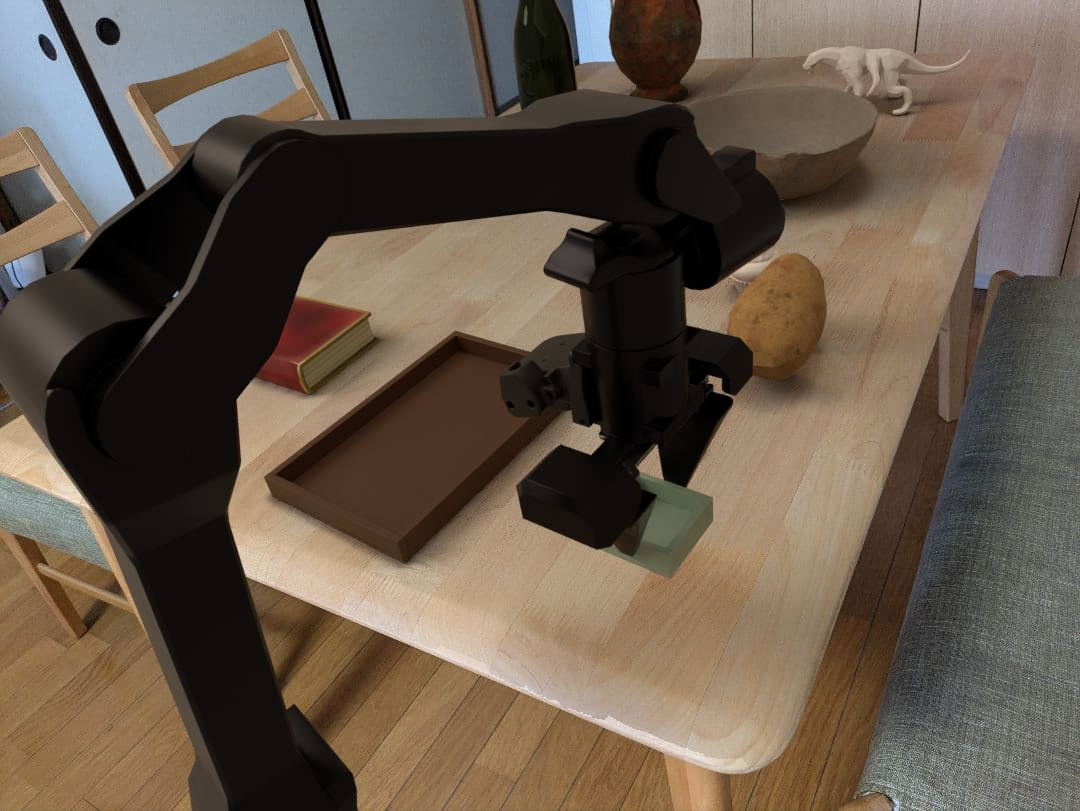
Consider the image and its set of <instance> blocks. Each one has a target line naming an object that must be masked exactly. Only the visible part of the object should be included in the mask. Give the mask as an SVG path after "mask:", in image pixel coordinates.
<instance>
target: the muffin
mask: <svg viewBox="0 0 1080 811" xmlns="http://www.w3.org/2000/svg"><path fill="white" fill-rule="evenodd" d="M780 256H781V255H780V253H779V252H778V251H776V250H775V249H774V248H773V247H771V248H770V249H768V250H767V251H765V252H764V253H762V254H761V255H759V256H758V257H756V258H755V259H753V260H752V261H750V262H749V263H747V264H746V265H744V266H743V267H741V268H740V269H739V270H737V271H736V272H734V273H733V274H731V275H730V276H729V278H730V280H731V281H732V283H733V284H734V286H735V287H736V289H737V291H738V292H739V294H741V293H742V292H743V291H744V290H745V289H746V288H747V287H748V286H749V285H750V284H751V283H752V282H753V281H754V280H755V279H756V278H757V277H758V276H759V275H760V274H761V272H762V271H763V270H764V269H765V268H766V267H767V266H768V265H769V264H770V263H771V262H772V261H773V260H774V259H776V258H778V257H780Z"/></svg>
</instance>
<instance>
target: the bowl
mask: <svg viewBox="0 0 1080 811" xmlns="http://www.w3.org/2000/svg"><path fill="white" fill-rule="evenodd" d="M685 106H686V107H688V108H689V109H690V110H691V111H692V112H693V114H694V117H695V119H694V124H695V126H696V129H697V136H698V137H699V139H700V140H701V141H702V143H703V144H704V146H705V147H706V149H707V150H708V152H709V153H710V155H712V154H713V153H714V152H716V151H717V150H719V149H721V148H723V147H724V146H726V145H731V146H736V147H741V148H746V149H751V150H755V152H756V169H757V170H758V171H760V172H761V173H762V174H763V175H764V176H765V177H767V178H768V180H769V181H770V182H771V184H772V185H773V186H774V187H775V189H776V191H777V193H778V195H779V197H780V200H781V201H783V200H785V201H786V200H791V199H797V198H801V197H805V196H809V195H813V194H815V193H818V192H820V191H822V190H824V189H826V188H828V187H830V186H832V185H833V184H834V183H836V182H837V181H838V180H839V179H840V178H842V177H843V176H844V175H845V174H846V173H847V172H848V171H849V170H850V169H851V167H853V165H854V164H855V162H856V161H857V159H858V158H859V156H860V155H861V154H862V152H863V151H864V149H865V148H866V147H867V145H868V143H869V141H870V139H871V138H872V136H873V134H874V131H875V128H876V125H877V122H878V118H879V116H878V109H877V107H876V106H875V104H874V103H873V102H871V101H870V100H868V99H866V98H864V97H862V96H861V97H860V96H857V95H855V94H854V93H852V92H850V93H849V92H846V91H842V89H839V88H833V87H822V86H811V85H776V86H775V85H774V86H759V87H752V88H744V89H738V90H732V91H727V92H723V93H718V94H713V95H710V96H706V97H703V98H699V99H697V100H694V101H692V102H690V103H687V104H686V105H685Z"/></svg>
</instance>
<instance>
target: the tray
mask: <svg viewBox="0 0 1080 811" xmlns="http://www.w3.org/2000/svg"><path fill="white" fill-rule="evenodd" d="M530 352H531V351H529V350H525V349H521V348H518V347H514V346H511V345H508V344H505V343H501V342H497V341H494V340H489V339H486V338H484V337H479V336H476V335H473V334H469V333H465V332H462V331H458V330H454V331H452V332H451V333H450V334H449V335H447V336H446V337H444V338H443V339H442V340H441V341H439V342H438V343H437V344H435V345H434V346H433V347H432V348H430V349H429V350H428V351H426V352H425V353H423V355H421V356H420V357H419V358H417V359H416V360H414V361H413V362H412V363H411V364H409V365H408V366H407V367H406V368H404V369H403V370H402V371H400V372H399V373H398V374H396V375H394V376H393V377H392V378H391V379H390V380H388V381H387V382H386V383H384V384H383V385H381V386H380V387H378V388H377V390H375V391H374V392H373V393H371V394H370V395H368V396H367V397H366V398H364V400H362V401H361V402H359V404H357V405H355V406H354V407H353V408H351V409H350V410H349V411H347V412H346V413H345V414H343V416H341V417H340V418H338V420H336V421H334V422H333V423H332V424H330V425H329V426H328V427H327V428H326V429H324V430H323V431H321V432H320V433H319V434H318V435H316V436H315V437H314V438H312V439H311V440H310V441H308V442H307V443H306V444H305V445H303V446H302V447H300V448H299V449H298V450H297V451H296V452H294V453H293V454H291V455H290V456H289V457H288V458H286V459H285V460H284V461H282V462H281V463H280V464H278V465H277V466H276V467H274V468H273V469H272V470H271V471H270V472H268V473H266V474H265V475H264V476H263V479H264V481H265V484H266V485H267V488H268V490H269V492H270V494H271V497H273V498H274V499H277V500H279V501H280V502H282V503H284V504H286V505H288V506H291V507H292V508H295V509H297V510H298V511H300V512H302V513H304V514H306V515H308V516H310V517H312V518H314V519H316V520H317V521H320V522H321V523H324V524H325V525H328V526H329V527H331V528H333V529H336V530H337V531H339V532H342V533H343V534H345V535H347V536H349V537H351V538H353V539H355V540H356V541H358V542H361V543H362V544H365V545H366V546H369V547H371V548H372V549H375V550H377V551H378V552H380V553H383V554H384V555H387V556H389V557H390V558H392V559H395V560H396V561H399V562H400V563H402V564H406V563H407V562H408V561H409V560H410V559H411V558H412V557H413V556H414V555H416V553H417V552H418V551H420V550H421V549H422V547H424V546H425V545H426V544H427V543H428V542H429V541H430V540H431V539H432V538H433V537H434V536H435V535H436V534H437V533H438V532H439V531H440V530H441V529H442V528H443V527H445V525H446V524H447V523H448V522H450V520H451V519H452V518H453V517H455V516H456V514H457V513H458V512H460V511H461V510H462V509H463V508H464V507H465V506H466V505H467V504H468V503H469V502H470V501H471V500H472V499H473V498H474V497H475V496H476V495H478V493H479V492H480V491H481V490H482V489H484V487H485V486H487V485H488V483H490V481H492V480H493V479H494V478H495V476H498V474H499V473H500V472H501V471H502V470H503V468H505V467H506V466H507V465H508V464H509V463H510V462H511V461H513V459H515V457H516V456H518V454H519V453H520V452H522V451H523V450H524V449H525V448H526V447H527V446H528V445H529V444H530V443H531V442H532V441H533V440H534V439H535V438H536V437H537V436H538V435H539V434H540V433H541V432H542V431H543V430H545V429H546V427H547V426H548V425H550V424H551V423H552V421H554V420H555V419H556V417H558V416H559V415H560V414H561V413H563V411H546V412H545V413H543V414H542V415H541V416H540V417H534V418H517V417H514V416H513V415H512V414H510V413H509V411H508V409H507V407H506V405H505V403H504V401H503V399H502V397H501V391H500V380H499V374H501V373H502V372H503V371H504V370H505V369H506V368H508V367H509V366H510V365H511V364H512V363H513V362H515V361H521V360H522V359H523V358H524V357H525V356H526V355H528V354H529V353H530Z"/></svg>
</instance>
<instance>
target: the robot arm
mask: <svg viewBox="0 0 1080 811" xmlns="http://www.w3.org/2000/svg"><path fill="white" fill-rule="evenodd" d="M694 119H695V117H694V114H693V112H692V111H691V110H690V109H689V108H688V107H686V105H682V104H679V103H676V102H672V103H670V102H664V101H658V100H652V99H646V98H640V97H634V96H629V95H627V94H622V93H621V94H620V93H615V92H609V91H602V90H596V89H590V88H583V89H581V88H580V89H578V90H575V91H571V92H567V93H563V94H559V95H555V96H551V97H547V98H543V99H539V100H536V101H535V102H533V103H532V104H530V105H529V106H528V107H526V108H525V109H524V110H522V111H521V110H520V111H518V112H513V113H510V114H506V115H502V116H477V117H475V116H473V117H472V116H471V117H470V116H469V117H424V118H422V117H421V118H417V117H416V118H415V117H414V118H372V119H368V118H367V119H365V118H364V119H325V120H324V119H318V120H316V119H314V120H313V119H312V120H270V119H266V118H264V117H260V116H257V115H252V114H238V115H233V116H229V117H224V118H223V119H221V120H219V121H218V122H216V123H215V124H213V125H212V126H210V127H208V128H207V130H206V131H205V132H203V133H202V134H201V135H200V137H198V139H197V140H196V141H195V142H194V143H193V144H192V145H191V147H190V148H189V149H188V150H187V152H186V153H185V154H184V155H183V156H182V158H181V159H180V160H179V161H178V163H177V164H176V165H175V166H174V167H173V169H172V170H171V171H170V172H169V173H167V174H166V175H165V176H163V177H162V178H160V180H158V181H156V183H154V184H152V186H151V185H150V187H149V188H147V189H146V190H145V191H144V192H142V193H141V194H139V195H138V196H137V197H136V198H134V199H133V200H132V201H130V202H129V203H127V205H125V206H124V207H122V208H121V209H120V210H119V211H117V212H116V213H115V214H113V215H112V216H110V217H109V218H108V219H107V220H105V221H104V222H102V224H101V225H99V227H97V229H96V230H95V231H94V232H93V233H92V234H91V235H90V237H89V238H88V239H87V240H86V241H85V243H84V244H83V245H82V246H81V247H80V248H79V249H78V251H76V253H75V254H74V255H73V257H71V259H70V260H69V261H68V263H67V264H66V265H65V266H64V267H63V268H62V269H61V270H58V271H54V272H52V273H50V274H47V275H45V276H43V277H41V278H38V279H35V280H33V281H31V282H29V283H28V284H27V285H26V286H24V287H23V289H21V290H20V291H19V292H18V293H17V294H15V295H14V296H13V297H12V298H11V299H9V301H8V302H7V303H6V305H5V306H4V308H3V310H2V312H1V313H0V385H1V386H2V387H3V389H4V391H5V392H6V393H7V394H8V396H9V397H10V399H11V400H12V401H13V403H14V404H15V406H16V407H17V408H18V410H19V412H20V413H21V414H22V415H23V417H24V418H25V419H26V421H27V422H28V424H29V425H30V427H31V428H32V429H33V430H34V432H35V434H36V435H37V436H38V438H39V439H40V440H41V443H43V445H44V446H45V447H46V449H47V450H48V451H49V453H50V454H51V456H52V457H53V458H54V460H55V461H56V463H57V464H58V465H59V466H60V468H61V469H62V471H63V472H64V473H65V475H66V476H67V478H68V479H69V480H70V482H71V483H72V485H73V486H74V487H75V489H76V490H77V492H78V493H79V494H80V495H81V497H82V498H83V500H84V501H85V502H86V504H87V505H88V506H89V508H90V509H91V511H92V512H93V514H94V515H95V516H96V518H97V519H98V520H99V523H101V525H102V528H103V529H104V530H103V531H104V532H105V535H106V536H107V539H108V542H109V544H110V547H111V549H112V552H113V554H114V556H115V559H116V562H117V564H118V567H119V569H120V572H121V574H122V576H123V578H124V581H125V584H126V586H127V589H128V591H129V593H130V596H131V598H132V601H133V603H134V606H135V608H136V610H137V613H138V616H139V618H140V620H141V623H142V625H143V627H144V630H145V633H146V635H147V638H148V640H149V642H150V645H151V647H152V650H153V651H154V652H153V653H154V654H155V658H156V659H157V662H158V664H159V666H160V669H161V672H162V674H163V677H164V680H165V681H166V684H167V687H168V689H169V691H170V694H171V697H172V699H173V702H174V703H175V706H176V708H177V711H178V714H179V716H180V718H181V720H182V723H183V726H184V728H185V730H186V733H187V735H188V738H189V741H190V743H191V745H192V747H193V751H194V762H193V765H192V767H191V770H190V772H189V775H188V778H187V784H188V791H189V793H188V794H189V798H190V799H189V800H190V807H191V808H190V809H191V811H360V810H359V809H358V808H359V807H358V787H357V784H356V782H355V777H354V773H353V772H352V771H351V770H350V769H349V767H348V766H347V764H345V763H344V760H342V759H341V757H340V756H339V755H338V754H337V752H336V751H335V750H334V749H333V748H332V746H330V745H329V743H328V742H327V741H326V740H325V738H324V737H323V736H322V735H321V733H320V732H319V731H318V729H316V727H315V726H314V725H313V724H312V723H311V721H310V720H309V719H308V718H307V716H306V715H305V714H304V713H303V712H302V710H301V709H300V708H299V707H298V706H297V704H295V703H293V704H291V705H290V706H289V707H288V708H287V706H286V703H285V698H284V696H283V692H282V691H281V690H282V689H281V687H280V683H279V680H278V677H277V673H276V670H275V667H274V664H273V661H272V657H271V653H270V650H269V648H268V644H267V641H266V637H265V635H264V634H265V633H264V631H263V627H262V624H261V621H260V619H259V615H258V611H257V608H256V605H255V602H254V598H253V594H252V592H251V589H250V585H249V582H248V579H247V576H246V572H245V569H244V565H243V562H242V559H241V556H240V553H239V549H238V546H237V543H236V539H235V537H234V533H233V530H232V526H231V523H230V515H229V513H230V512H229V508H230V507H229V506H230V504H231V501H232V497H233V493H234V490H235V486H236V482H237V479H238V477H239V476H238V475H239V473H240V469H241V466H242V450H241V436H240V425H239V413H238V410H239V409H238V399H239V398H240V396H241V395H242V394H243V393H244V391H245V390H246V389H247V387H248V386H249V385H250V384H251V383H252V381H253V380H254V378H256V377H255V376H256V375H257V373H258V372H259V371H260V369H261V368H262V367H263V366H264V364H265V363H266V362H267V360H268V359H269V358H270V357H271V355H272V354H273V352H274V350H275V349H276V347H277V345H278V343H279V340H280V338H281V335H282V332H283V329H284V326H285V324H286V321H287V318H288V315H289V312H290V310H291V307H292V304H293V301H294V298H295V295H297V292H298V290H299V287H300V285H301V281H302V278H303V276H304V273H305V270H306V268H307V266H308V264H309V263H310V262H311V261H312V259H313V258H314V256H316V254H317V253H318V252H319V251H320V249H321V248H322V247H323V245H324V244H325V243H326V242H327V240H328V239H329V238H330V237H331V238H332V237H340V236H348V235H349V236H350V235H357V234H366V233H373V232H381V231H383V232H384V231H390V230H399V229H407V228H416V227H424V226H432V225H433V226H434V225H442V224H449V223H457V222H465V221H466V222H467V221H473V220H475V221H476V220H484V219H491V218H500V217H507V216H509V217H510V216H517V215H524V214H535V213H542V212H548V213H549V212H550V213H557V214H567V215H570V216H571V215H572V216H577V217H582V218H588V219H593V220H598V221H603V222H604V223H602V224H599V225H597V226H596V227H594V228H592V229H591V230H588V231H585V230H582V229H579V228H577V227H569V228H568V229H567V231H566V232H565V237H564V239H563V240H562V241H561V243H560V244H559V245H558V246H557V247H556V248H555V249H554V250H553V251H552V252H551V253H550V254H549V256H548V259H547V260H546V262H545V263H544V265H543V269H542V270H543V274H544V275H545V276H546V277H548V278H551V279H554V280H556V281H560V282H561V283H565V284H567V285H570V286H572V287H575V288H578V289H579V295H580V296H579V297H580V304H581V311H582V321H583V327H584V328H583V329H584V332H576V333H567V334H559V335H554V336H551V337H549V338H547V339H546V340H545V339H544V340H543V341H542V342H541V343H540V344H538V345H537V346H536V347H535V348H533V349H532V350H531V351H529V352H530V353H529V354H528V355H526V356H525V357H524V358H523V359H522V360H521V361H515V362H513V363H512V364H511V365H510V366H509V367H508V368H506V369H505V370H504V371H503V372H502V373H501V374H499V380H500V391H501V397H502V399H503V401H504V403H505V405H506V407H507V409H508V411H509V413H510V414H512V415H513V416H514V417H517V418H534V417H540V416H541V415H542V414H543V413H545V412H546V411H562V412H568V411H570V412H571V418H572V423H574V424H577V425H580V426H582V427H585V428H591V427H592V426H593V425H597V426H599V428H600V429H599V430H600V431H599V432H598V438H599V439H600V440H601V441H603V442H601V444H599V446H598V447H597V448H596V449H595V450H594V451H593V452H592V453H591V454H590V453H587V452H584V451H582V450H578V449H575V448H572V447H571V446H567V445H564V444H562V443H561V444H559V445H557V446H556V447H555V448H552V449H551V451H549V452H548V453H547V454H546V455H545V456H544V457H543V458H542V459H540V461H539V462H538V463H537V464H536V465H535V466H534V467H533V468H532V469H531V470H530V471H529V472H528V473H527V474H526V475H525V476H524V477H523V478H522V479H521V480H520V481H519V482H518V483H517V484H516V485H515V488H516V493H517V498H518V502H519V508H520V512H521V516H522V517H521V518H522V519H523V520H525V521H528V522H529V523H532V524H535V525H537V526H540V527H542V528H543V529H547V530H549V531H551V532H553V533H555V534H558V535H560V536H562V537H566V538H568V539H570V540H573V541H575V542H577V543H579V544H582V545H583V546H586V547H589V548H591V549H593V550H595V551H598V550H600V549H604V548H608V547H611V546H612V545H613V544H614V545H615V547H616V548H617V549H618V551H619V552H621V553H623V554H625V555H628V556H630V557H633V556H634V555H635V554H636V552H637V550H638V547H639V545H640V543H641V540H642V537H643V534H644V532H645V529H646V526H647V523H648V520H649V518H650V515H651V513H652V510H653V507H654V504H655V501H656V499H657V494H654V493H651V492H649V491H646V490H643V489H641V484H640V483H639V482H638V481H639V480H640V472H641V471H640V470H639V468H638V467H639V466H640V465H641V464H642V462H643V461H645V459H646V458H647V457H648V456H649V455H650V453H651V452H652V451H653V450H654V448H656V447H657V451H658V457H659V462H660V468H661V474H662V479H663V480H665V481H668V482H671V483H673V484H676V485H679V486H682V487H685V488H688V486H689V484H690V482H691V480H692V478H693V477H694V475H695V473H696V471H697V469H698V467H699V465H700V463H701V462H702V460H703V458H704V456H705V454H706V453H707V451H708V449H709V447H710V445H711V443H712V441H713V440H714V438H715V436H716V435H717V433H718V432H719V429H720V427H721V426H722V424H723V422H724V421H725V419H726V417H727V415H728V413H729V412H730V411H731V409H732V408H733V405H734V399H733V397H732V396H734V397H736V396H737V395H738V394H739V393H740V392H741V390H742V389H743V388H744V387H745V385H747V383H748V382H749V381H750V380H751V379H752V377H753V376H754V375H753V352H752V351H751V349H750V348H749V347H748V346H747V345H746V344H745V343H744V341H743V340H742V339H741V338H740V337H735V336H731V335H727V333H722V332H718V331H713V330H710V329H705V328H701V327H697V326H693V325H692V326H691V325H688V319H687V302H686V301H687V300H686V289H688V290H693V291H705V290H710V289H711V288H712V287H715V286H716V285H718V284H720V283H721V282H722V281H724V280H725V279H727V278H729V277H730V275H731V274H733V273H734V272H736V271H737V270H739V269H740V268H741V267H743V266H744V265H746V264H747V263H749V262H750V261H752V260H753V259H755V258H756V257H758V256H759V255H761V254H762V253H764V252H765V251H767V250H768V249H770V248H771V247H772V248H773V247H775V245H776V244H777V243H778V241H780V239H781V237H782V235H783V233H784V231H785V226H786V217H787V216H786V209H785V208H784V206H783V205H782V200H780V197H779V195H778V193H777V191H776V189H775V187H774V186H773V185H772V184H771V182H770V181H769V180H768V178H767V177H765V176H764V175H763V174H762V173H761V172H760V171H758V170H757V169H756V152H755V150H751V149H746V148H741V147H736V146H731V145H726V146H724V147H723V148H721V149H719V150H717V151H716V152H714V153H713V154H712V155H710V153H709V152H708V150H707V149H706V147H705V146H704V144H703V143H702V141H701V140H700V139H699V137H698V136H697V129H696V126H695V124H694ZM180 289H181V290H180ZM178 291H179V292H178ZM177 292H178V293H177ZM176 294H177V295H176ZM174 296H175V297H174ZM173 297H174V298H173ZM171 300H172V301H171ZM169 302H170V303H169ZM168 303H169V304H168ZM167 305H168V306H167ZM710 377H713V378H717V379H721V391H722V392H723V393H721V392H716V391H715V387H714V384H713V383H709V382H710ZM724 393H725V394H724ZM639 471H640V472H639Z"/></svg>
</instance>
